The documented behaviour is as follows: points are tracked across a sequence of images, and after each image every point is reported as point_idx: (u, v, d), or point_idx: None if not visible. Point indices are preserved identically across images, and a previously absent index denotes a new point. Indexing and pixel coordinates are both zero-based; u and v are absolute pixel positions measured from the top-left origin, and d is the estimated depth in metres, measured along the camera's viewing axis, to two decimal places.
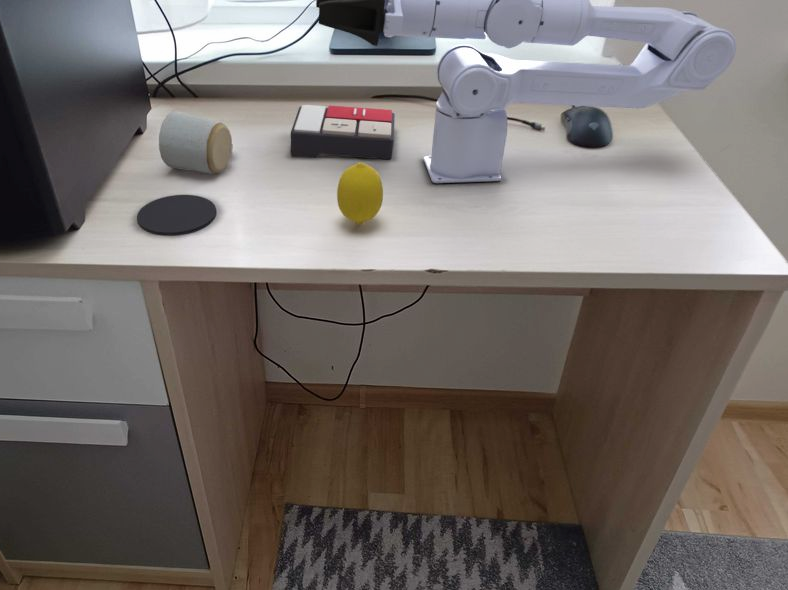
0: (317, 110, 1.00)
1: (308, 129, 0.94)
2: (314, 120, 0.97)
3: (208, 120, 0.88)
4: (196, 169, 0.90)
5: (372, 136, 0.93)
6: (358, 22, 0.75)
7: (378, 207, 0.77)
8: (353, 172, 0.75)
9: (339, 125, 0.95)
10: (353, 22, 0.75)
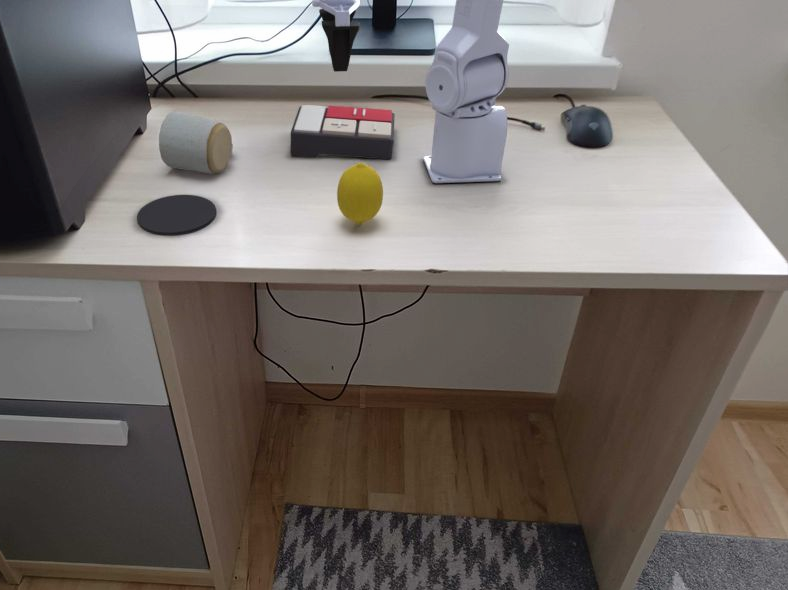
0: (317, 110, 1.00)
1: (308, 129, 0.94)
2: (314, 120, 0.97)
3: (208, 120, 0.88)
4: (196, 169, 0.90)
5: (372, 136, 0.93)
6: (344, 39, 0.97)
7: (378, 207, 0.77)
8: (353, 172, 0.75)
9: (339, 125, 0.94)
10: (345, 43, 0.97)
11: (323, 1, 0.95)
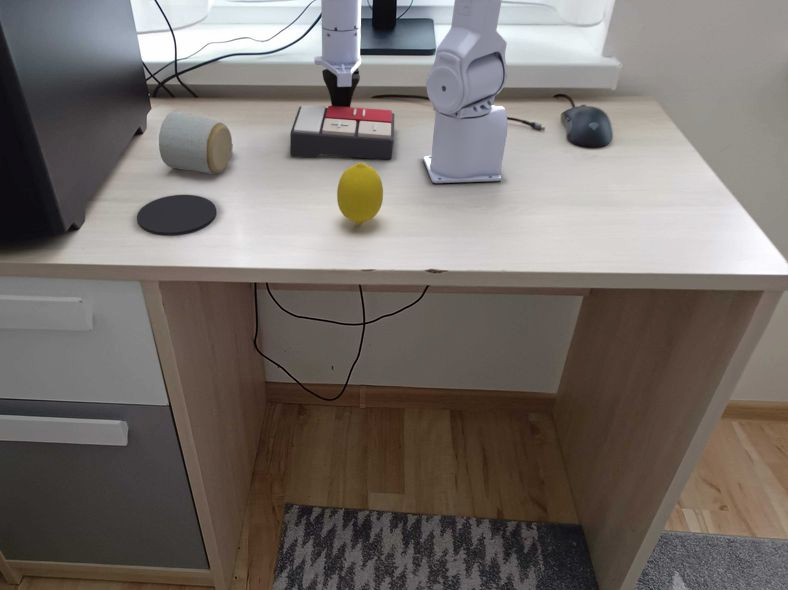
0: (317, 110, 1.00)
1: (308, 129, 0.94)
2: (314, 120, 0.97)
3: (208, 120, 0.88)
4: (196, 169, 0.90)
5: (372, 136, 0.93)
6: (345, 90, 1.00)
7: (378, 207, 0.77)
8: (353, 172, 0.75)
9: (339, 125, 0.94)
10: (345, 94, 1.01)
11: (325, 60, 0.97)
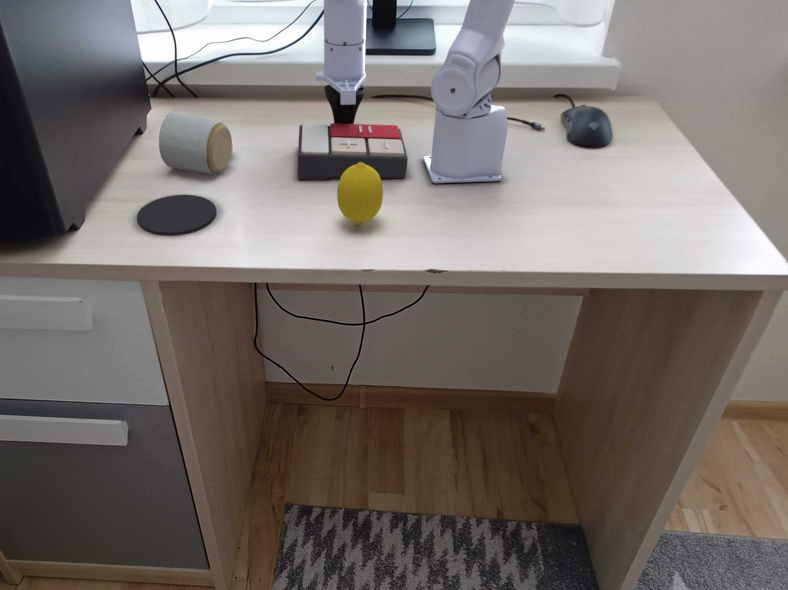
0: (320, 129, 0.94)
1: (316, 150, 0.88)
2: (320, 140, 0.91)
3: (208, 120, 0.88)
4: (196, 169, 0.90)
5: (385, 155, 0.88)
6: (348, 106, 0.95)
7: (378, 207, 0.77)
8: (353, 172, 0.75)
9: (348, 145, 0.89)
10: (348, 110, 0.95)
11: (328, 75, 0.91)
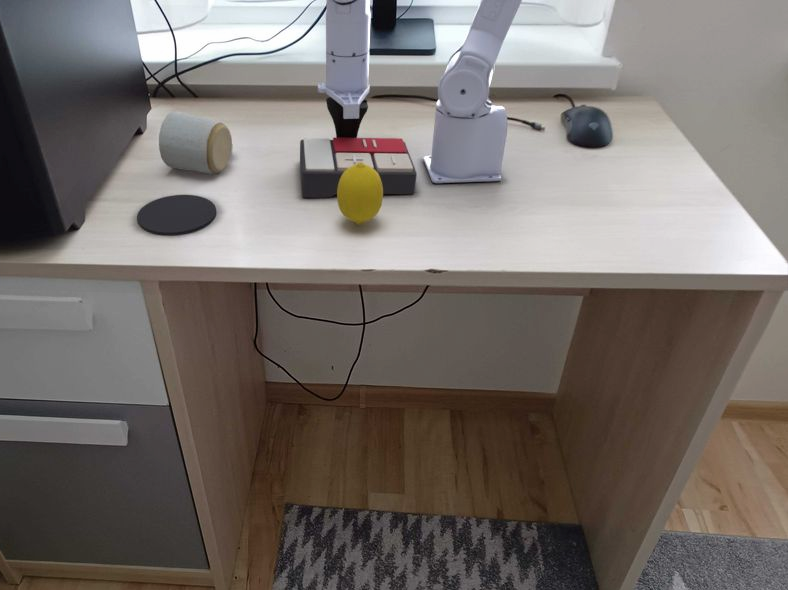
0: (322, 144, 0.90)
1: (322, 167, 0.84)
2: (324, 156, 0.87)
3: (208, 120, 0.88)
4: (196, 169, 0.90)
5: (393, 171, 0.85)
6: (351, 120, 0.91)
7: (378, 207, 0.77)
8: (353, 172, 0.75)
9: (355, 160, 0.85)
10: (351, 124, 0.91)
11: (330, 88, 0.87)
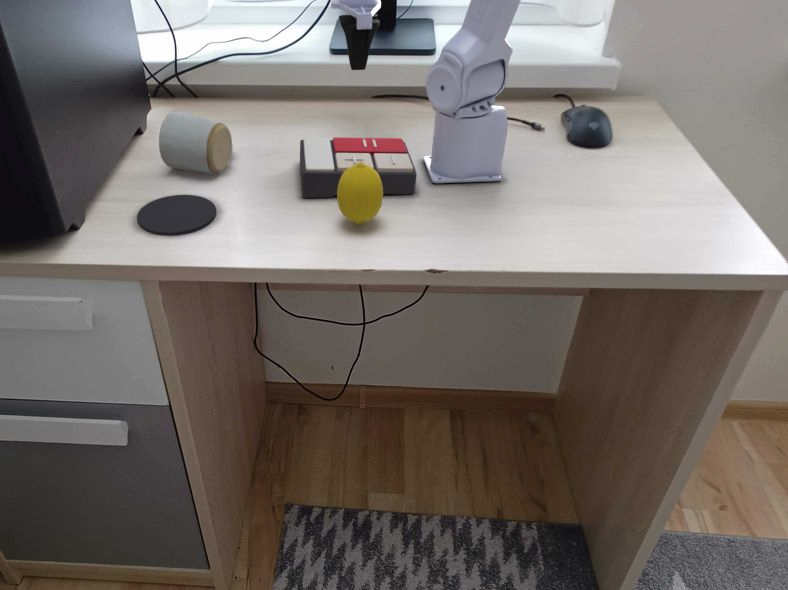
0: (322, 144, 0.90)
1: (322, 167, 0.84)
2: (324, 156, 0.87)
3: (208, 120, 0.88)
4: (196, 169, 0.90)
5: (393, 171, 0.85)
6: (363, 37, 0.94)
7: (378, 207, 0.77)
8: (353, 172, 0.75)
9: (355, 161, 0.85)
10: (363, 41, 0.95)
11: (343, 2, 0.91)
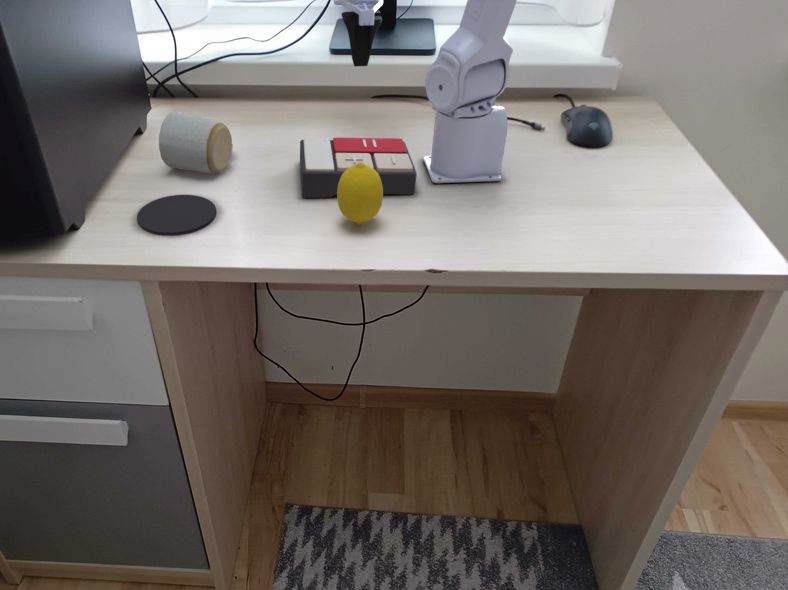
0: (322, 144, 0.90)
1: (321, 167, 0.84)
2: (324, 156, 0.87)
3: (208, 120, 0.88)
4: (196, 169, 0.90)
5: (393, 171, 0.85)
6: (365, 34, 0.96)
7: (378, 207, 0.77)
8: (353, 172, 0.75)
9: (354, 161, 0.85)
10: (365, 38, 0.96)
11: None
